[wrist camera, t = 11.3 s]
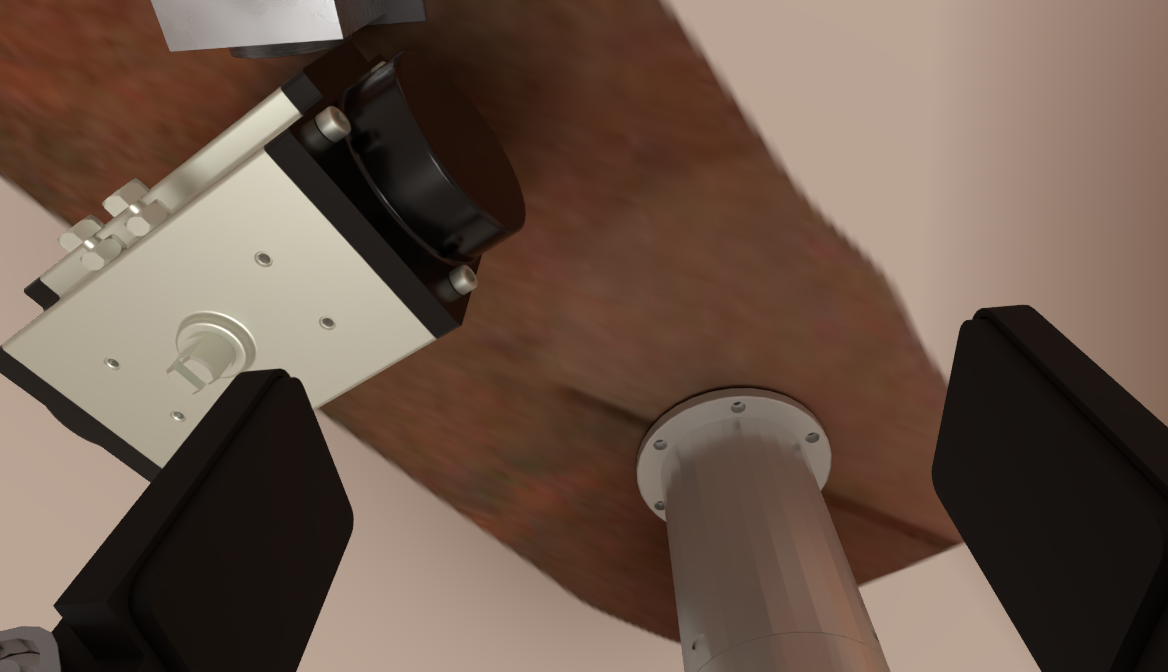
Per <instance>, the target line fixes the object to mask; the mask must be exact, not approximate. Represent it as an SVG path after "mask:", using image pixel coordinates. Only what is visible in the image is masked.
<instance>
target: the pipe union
mask: <svg viewBox="0 0 1168 672" xmlns="http://www.w3.org/2000/svg"><path fill="white" fill-rule="evenodd" d="M151 2H152V4H153V7H154V10H155V12H156V15H157V18H158V20H159V23H160V26H161V28H162V31H163V34H164V36H165V39H166V42H167V44H168V47H169V50H170V51H184V50H198V49H212V48H225V47H229V50H230V53H231V55H232V56H234V57H238V58H273V57H283V56H292V55H299V54H306V53H312V52H317V51H322V50H326V49H330V48H334V47H338V46H339V45H341V44H343V43H344V42H346V41H347V40H350V41H351V40H352V39H353V38H352V33H354V32H355V31H357V30H358V29H360V28H362V27H363V26H365V25H366V24H368V23H370V22H371V21H373V20H375V19H376V18H378V17H379V16H381V15H383V14H384V13H386V12H387V10H386V5H385V0H151Z"/></svg>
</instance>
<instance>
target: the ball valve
mask: <svg viewBox="0 0 1168 672" xmlns="http://www.w3.org/2000/svg"><path fill="white" fill-rule="evenodd" d="M102 204H103V206H104V208H105V209H106V210H107V211H108V212H110V213H111V214H112V215H113V216H114V217H115V218H113V219H112V220H111V221H110V222H108V223H107V224H106V225H105V224H104V223H102V222H101V221H100V220H99V219H98V218H97V217H95V216H93V215H89V216H87V217H86V218H84V219H83V220H81V221H80V222H79V223H77V224H76V225H74V226H73V227H72V228H70V229H69V230H68V231H66V232H65V233H64V234H63V235H61V236H60V237H59V238H58V242H59V243H60V245H61V246H62V247H64V248H65V249H66V250H67V251H68V252H69V254H68V255H66V256H65V257H64V258H63V259H61V260H60V261H59V262H58V263H56V264H55V265H54V266H53V267H51V268H50V269H49V270H47V271H46V272H45V273H44V274H42V275H41V276H40V277H39V278H37V279H36V280H35V281H34V282H32V283H31V284H30V285H28V286H27V287H26V288H25V289H24V292H25V294H26V295H28V296H29V297H30V298H31V299H33V300H34V301H35V302H36V303H38V304H39V305H40V306H41V307H43V309H44V312H43V313H42V314H41V315H39V316H38V317H37V318H35V319H34V320H33V321H32V322H30V323H29V324H28V325H27V326H25V327H24V328H23V329H21V330H20V331H19V332H18V333H16V334H15V335H14V336H12V337H11V338H10V339H9V340H7V341H6V342H5V343H4V344H2V345H1V346H0V373H1V374H3V375H4V376H5V377H7V378H8V379H9V380H11V381H12V382H14V383H15V384H16V385H18V386H19V387H21V388H22V389H23V390H25V391H26V392H27V393H29V394H30V395H32V396H33V397H34V398H35V399H37V400H38V401H40V402H41V403H42V404H44V405H45V406H46V407H47V409H48V410H49V411H50V412H51V413H52V414H53V416H54V417H55V418H56V419H57V420H58V421H59V422H61V423H62V424H63V425H64V426H65V427H67V428H68V429H69V430H70V431H72V432H73V433H75V434H76V435H78V436H80V437H81V438H83V439H85V440H87V441H89V442H92V443H94V444H97V445H99V446H101V447H103V448H104V449H106V450H107V451H108V452H109V453H111V454H112V455H114V456H115V457H116V458H118V459H119V460H120V461H122V462H123V463H125V464H126V465H127V466H129V467H130V468H131V469H133V470H134V471H136V472H137V473H138V474H140V475H141V476H142V477H144V478H145V479H147V480H148V481H150V482H152V481H153V480H154V478H155V477H156V476H157V475H158V473H159V472H160V471H161V470H162V468H163V467H164V466H165V465H166V463H167V462H168V461H169V460H170V458H171V457H172V456H173V455H174V453H175V452H176V451H177V450H178V448H179V447H180V446H181V445H182V443H183V442H184V441H185V440H186V438H187V437H188V436H189V434H190V433H191V432H192V431H193V429H194V428H195V427H196V426H197V424H198V423H199V422H200V421H201V419H202V418H203V417H204V416H205V414H206V413H207V412H208V411H209V409H210V408H211V407H212V406H213V404H214V403H215V402H216V401H217V399H218V398H219V397H220V396H221V394H222V393H223V392H224V391H225V389H226V388H227V387H228V386H229V384H230V383H231V382H232V380H233V379H234V378H235V377H236V376H237V375H238V374H239V373H240V372H245V371H255V370H266V369H278V368H281V369H284V370H286V371H287V372H288V373H289V375H290V376H291V377H296V378H298V379H299V380H300V381H301V382H302V384H303V386H304V388H305V391H306V393H307V396H308V398H309V401H310V403H311V406H312V408H313V411H314V410H315V409H317V408H319V407H321V406H322V405H324V404H326V403H327V402H329V401H331V400H333V399H334V398H336V397H338V396H340V395H341V394H343V393H345V392H347V391H348V390H350V389H352V388H353V387H355V386H357V385H359V384H360V383H362V382H364V381H366V380H367V379H369V378H371V377H373V376H374V375H376V374H378V373H379V372H381V371H383V370H385V369H386V368H388V367H390V366H392V365H393V364H395V363H397V362H399V361H400V360H402V359H404V358H405V357H407V356H409V355H411V354H412V353H414V352H416V351H418V350H419V349H421V348H423V347H425V346H426V345H428V344H430V343H431V342H433V341H435V340H437V339H438V338H440V337H442V336H444V335H445V334H447V333H449V332H450V331H452V330H454V329H456V328H457V327H459V326H461V325H462V322H463V319H464V315H465V312H466V308H467V305H468V301H469V298H470V294H471V291H472V290H473V289H475V288H476V287H477V285H478V282H477V278H476V274H477V270H478V267H479V263H480V260H481V256H482V254H483V253H484V252H486V251H488V250H489V249H491V248H493V247H494V246H496V245H498V244H499V243H501V242H503V241H504V240H506V239H507V238H509V237H511V236H512V235H514V234H516V233H517V232H519V231H520V230H521V229H522V227H523V226H524V223H525V216H526V211H525V203H524V199H523V195H522V191H521V188H520V185H519V182H518V180H517V177H516V175H515V173H514V170H513V168H512V166H511V164H510V162H509V160H508V158H507V156H506V154H505V152H504V150H503V149H502V147H501V145H500V143H499V142H498V140H497V138H496V137H495V135H494V133H493V132H492V130H491V129H490V127H489V125H488V124H487V122H486V121H485V120H484V118H483V117H482V115H481V114H480V112H479V111H478V110H477V108H476V107H475V106H474V104H473V103H472V102H471V101H470V99H469V98H468V97H467V96H466V95H465V93H464V92H463V91H462V90H461V89H460V88H459V86H458V85H457V84H456V83H455V82H454V81H453V80H452V79H451V78H450V77H449V76H448V75H447V74H446V73H445V72H444V71H443V70H442V69H440V68H439V67H438V66H437V65H436V64H434V63H433V62H432V61H430V60H429V59H427V58H426V57H424V56H422V55H420V54H418V53H416V52H412V51H402V52H400V53H398V54H396V55H395V56H394V57H392V58H391V59H390V60H389V61H387V62H386V60H385V59H384V58H383V56H382V55H380V54H379V55H378V56H376V57H375V58H374V59H373V60H371V61H370V62H368V61H367V60H366V59H365V58H364V57H363V55H362V54H361V53H360V52H359V50H358V49H357V48H356V46H355V45H354V44H353V43H352V42H351V41H350V40H347V41H346V42H344V43H343V44H341V45H339V46H338V47H336V48H335V49H333V50H332V51H330V52H328V53H327V54H325V55H324V56H322V57H321V58H319V59H318V60H316V61H314V62H313V63H311V64H310V65H308V66H307V67H305V68H303V69H302V70H301V71H300V72H298V73H297V74H296V75H295V76H293V77H292V78H291V79H289V80H288V81H287V82H286V83H284V84H283V85H282V86H281V87H279V88H278V89H277V90H276V91H274V92H273V93H272V94H270V95H269V96H268V97H267V98H265V99H264V100H263V101H262V102H260V103H259V104H258V105H257V106H255V107H254V108H253V109H251V110H250V111H249V112H248V113H246V114H245V115H244V116H243V117H241V118H240V119H239V120H237V121H236V122H235V123H234V124H232V125H231V126H230V127H229V128H227V129H226V130H225V131H224V132H222V133H221V134H220V135H218V136H217V137H216V138H215V139H213V140H212V141H211V142H210V143H208V144H207V145H206V146H205V147H203V148H202V149H201V150H199V151H198V152H197V153H196V154H194V155H193V156H192V157H191V158H189V159H188V160H187V161H186V162H184V163H183V164H182V165H180V166H179V167H178V168H177V169H175V170H174V171H173V172H172V173H170V174H169V175H168V176H167V177H165V178H164V179H163V180H161V181H160V182H159V183H158V184H156V185H155V186H154V187H153V188H151V189H150V190H149V189H148V188H147V187H146V186H145V185H144V184H143V183H142V182H141V181H140V180H138V179H136V178H135V179H133V180H132V181H130V182H129V183H127V184H126V185H124V186H123V187H122V188H120V189H119V190H118V191H116V192H115V193H114V194H112V195H111V196H110V197H108V198H107V199H106V200H105V201H104V202H103V203H102Z"/></svg>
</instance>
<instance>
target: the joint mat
mask: <svg viewBox="0 0 1168 672" xmlns="http://www.w3.org/2000/svg"><path fill="white" fill-rule="evenodd" d="M385 5H386V10H387V12H386V13H384V14H383V15H381V16H379V17H378V18H376V19H375V20H373V21H371V22H370V23H368V24H366V25H377V24H391V23H404V22H418V21H426V20H427V18H426V12H425V7H424V1H423V0H385Z"/></svg>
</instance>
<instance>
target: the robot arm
mask: <svg viewBox="0 0 1168 672" xmlns="http://www.w3.org/2000/svg"><path fill="white" fill-rule="evenodd" d="M831 458H832V453H831V449H830V445H829V441H828V438H827V436H826V434H825V432H824V429H823V427H822V425H821V424H820V423H819V421H818V420H817V418H816V417H815V416H814V414H813V413H811V412H810V411H809V410H808V409H807V408H806V407H804V406H803V405H802V404H800V403H798V402H797V401H795V400H793V399H791V398H789V397H787V396H784V395H781V394H778V393H775V392H772V391H768V390H761V389H754V388H731V389H725V390H718V391H712V392H709V393H706V394H703V395H700V396H696V397H693V398H691V399H689V400H687V401H685V402H683V403H681V404H679V405H677V406H676V407H674V408H673V409H671V410H670V411H669V412H667V413H666V414H664V415H663V416H662V417H661V418H660V419H659V420H658V421H657V422H656V423H655V424H654V425H653V426H652V427H651V428H650V430H649V431H648V433H647V434H646V436H645V437H644V439H643V441H642V443H641V446H640V448H639V451H638V454H637V463H636V472H637V483H638V486H639V490H640V493H641V496H642V497H643V499H644V501H645V502H646V504H647V506H648V507H649V508H650V509H651V510H652V511H653V512H654V513H655V514H656V515H657V516H658V517H659V518H661V519H662V520H664V521H665V522H666V525H667V533H668V541H669V549H670V557H671V565H672V573H673V581H674V589H675V597H676V606H677V614H678V622H679V630H680V638H681V646H682V654H683V662H684V670H685V672H890V669H889V667H888V665H887V662H886V660H885V657H884V654H883V651H882V648H881V646H880V643H879V640H878V638H877V635H876V633H875V630H874V628H873V625H872V622H871V620H870V617H869V615H868V612H867V610H866V607H865V604H864V602H863V600H862V597H861V594H860V592H859V589H858V587H857V584H856V581H855V579H854V576H853V574H852V571H851V569H850V566H849V563H848V561H847V558H846V556H845V553H844V550H843V548H842V545H841V543H840V540H839V538H838V535H837V532H836V530H835V527H834V525H833V522H832V519H831V517H830V514H829V512H828V509H827V506H826V504H825V501H824V499H823V496H822V493H821V490H822V489H823V487H824V485H825V483H826V482H827V479H828V476H829V473H830V469H831ZM932 481H933V485H934V489H935V491H936V494H937V496H938V497H939V499H940V501H941V502H942V504H943V506H944V508H945V509H946V511H947V513H948V514H949V516H950V518H951V519H952V521H953V523H954V524H955V526H956V528H957V530H958V531H959V533H960V535H961V536H962V538H963V540H964V541H965V543H966V545H967V546H968V548H969V550H970V552H971V553H972V555H973V556H974V558H975V560H976V562H977V563H978V565H979V567H980V568H981V570H982V572H983V573H984V575H985V577H986V579H987V580H988V582H989V584H990V585H991V587H992V589H993V590H994V592H995V594H996V595H997V597H998V599H999V600H1000V602H1001V604H1002V606H1003V607H1004V609H1005V611H1006V612H1007V614H1008V616H1009V617H1010V619H1011V621H1012V623H1013V624H1014V626H1015V628H1016V629H1017V631H1018V633H1019V634H1020V636H1021V638H1022V639H1023V641H1024V643H1025V644H1026V646H1027V648H1028V649H1029V651H1030V653H1031V655H1032V656H1033V658H1034V660H1035V661H1036V663H1037V665H1038V666H1039V668H1040V670H1041V672H1168V427H1167V426H1166V425H1164V424H1163V423H1162V422H1161V421H1160V420H1159V419H1157V417H1155V416H1154V415H1153V414H1152V413H1151V412H1150V411H1149V410H1147V409H1146V408H1145V407H1144V406H1143V405H1142V404H1141V403H1140V402H1139V401H1137V400H1136V399H1135V398H1134V397H1133V396H1132V395H1131V394H1130V393H1128V392H1127V391H1126V390H1125V389H1124V388H1123V387H1122V386H1121V385H1119V384H1118V383H1117V382H1116V381H1115V380H1114V379H1113V378H1112V377H1110V376H1109V375H1108V374H1107V373H1106V372H1105V371H1104V370H1103V369H1101V368H1100V367H1099V366H1098V365H1097V364H1096V363H1095V362H1094V361H1092V360H1091V359H1090V358H1089V357H1088V356H1087V355H1085V353H1083V352H1082V351H1081V350H1080V349H1079V348H1078V347H1076V345H1074V344H1073V343H1072V342H1071V341H1070V340H1068V338H1066V337H1065V336H1064V335H1063V334H1062V333H1061V332H1060V331H1058V330H1057V329H1056V328H1055V327H1054V326H1053V325H1052V324H1050V323H1049V322H1048V321H1047V320H1046V319H1045V318H1044V317H1043V316H1042V315H1040V314H1039V313H1038V312H1037V311H1036V310H1035V309H1034V308H1032V307H1030V306H1029V305H1014V306H1003V307H991V308H981V309H980V310H978V311H977V312H976V313H975V315H974V316H973V319H972V320H966V321H965V322H963V324H962V325H961V328H960V331H959V335H958V340H957V346H956V350H955V355H954V361H953V365H952V370H951V375H950V380H949V385H948V390H947V395H946V400H945V405H944V410H943V415H942V420H941V425H940V430H939V435H938V440H937V445H936V450H935V455H934V460H933V465H932ZM353 519H354V518H353V511H352V508H351V505H350V502H349V500H348V497H347V495H346V492H345V490H344V487H343V484H342V482H341V479H340V477H339V474H338V472H337V469H336V467H335V465H334V462H333V459H332V457H331V454H330V452H329V449H328V446H327V444H326V441H325V439H324V436H323V434H322V431H321V429H320V426H319V424H318V421H317V419H316V416H315V414H314V411H313V408H312V406H311V403H310V401H309V398H308V396H307V393H306V391H305V388H304V386H303V384H302V382H301V381H300V380H299V379H298V378H296V377H291V376H290V375H289V373H288V372H287V371H286V370H284V369H281V368H278V369H266V370H255V371H245V372H240V373H239V374H238V375H237V376H236V377H235V378H234V379H233V380H232V382H231V383H230V384H229V386H228V387H227V388H226V389H225V391H224V392H223V393H222V394H221V396H220V397H219V398H218V399H217V401H216V402H215V403H214V404H213V406H212V407H211V408H210V409H209V411H208V412H207V413H206V414H205V416H204V417H203V418H202V419H201V421H200V422H199V423H198V424H197V426H196V427H195V428H194V429H193V431H192V432H191V433H190V434H189V436H188V437H187V438H186V440H185V441H184V442H183V443H182V445H181V446H180V447H179V448H178V450H177V451H176V452H175V453H174V455H173V456H172V457H171V458H170V460H169V461H168V462H167V463H166V465H165V466H164V467H163V468H162V470H161V471H160V472H159V473H158V475H157V476H156V477H155V478H154V480H153V481H152V482H151V483H150V485H149V486H148V487H147V489H146V490H145V491H144V492H143V494H142V495H141V496H140V497H139V499H138V500H137V501H136V502H135V504H134V505H133V506H132V507H131V509H130V510H129V511H128V512H127V514H126V515H125V516H124V517H123V519H122V520H121V521H120V522H119V524H118V525H117V526H116V527H115V529H114V530H113V531H112V533H111V534H110V535H109V536H108V537H107V539H106V540H105V541H104V543H103V544H102V545H101V546H100V548H99V549H98V550H97V551H96V553H95V554H94V555H93V556H92V558H91V559H90V560H89V562H88V563H87V564H86V565H85V566H84V568H83V569H82V570H81V571H80V573H79V574H78V575H77V576H76V578H75V579H74V580H73V581H72V583H71V584H70V585H69V587H68V588H67V589H66V590H65V592H64V593H63V594H62V595H61V597H60V598H59V599H58V601H57V602H56V603H55V604H54V607H55V609H56V610H57V611H58V613H59V614H60V615H61V616H62V619H61V621H60V622H59V624H58V625H57V626H56V627H55V628H54V630H53V631H52V632H49V631H47V630H45V629H43V628H41V627H27V626H23V627H22V626H21V627H17V628H13V629H8V630H5V631H0V672H296V671H297V668H298V666H299V663H300V661H301V658H302V656H303V653H304V651H305V648H306V646H307V643H308V641H309V638H310V636H311V633H312V631H313V628H314V626H315V624H316V621H317V619H318V616H319V614H320V611H321V609H322V606H323V604H324V601H325V599H326V596H327V594H328V591H329V589H330V586H331V584H332V581H333V578H334V576H335V574H336V571H337V569H338V566H339V564H340V561H341V559H342V556H343V554H344V551H345V549H346V546H347V544H348V542H349V539H350V537H351V533H352V530H353Z"/></svg>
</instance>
